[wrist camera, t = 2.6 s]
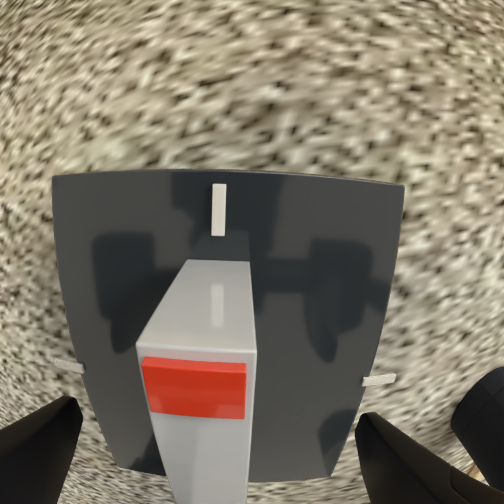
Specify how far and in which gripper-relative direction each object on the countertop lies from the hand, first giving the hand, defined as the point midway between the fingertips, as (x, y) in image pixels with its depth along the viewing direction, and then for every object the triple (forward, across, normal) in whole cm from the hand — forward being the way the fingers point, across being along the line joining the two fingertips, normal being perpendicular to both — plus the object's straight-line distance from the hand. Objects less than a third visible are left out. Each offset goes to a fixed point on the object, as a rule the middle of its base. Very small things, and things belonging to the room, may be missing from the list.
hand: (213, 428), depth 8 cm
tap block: (+5, 0, 0) cm, 5 cm away
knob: (+2, 0, 0) cm, 2 cm away
